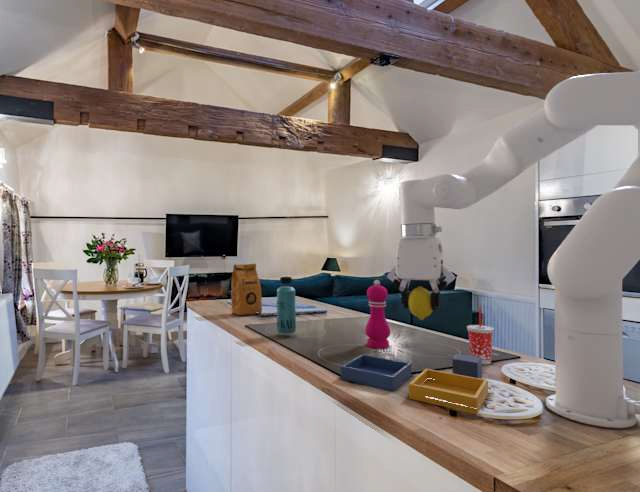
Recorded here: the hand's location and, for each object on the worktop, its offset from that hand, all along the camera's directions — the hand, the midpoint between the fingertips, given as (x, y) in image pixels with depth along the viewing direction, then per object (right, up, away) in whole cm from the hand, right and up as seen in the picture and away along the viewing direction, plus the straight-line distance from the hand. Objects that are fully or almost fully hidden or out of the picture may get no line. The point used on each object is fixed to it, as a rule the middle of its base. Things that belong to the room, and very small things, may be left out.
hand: (420, 307), depth 96 cm
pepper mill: (-1, -17, +27) cm, 31 cm away
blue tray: (-11, -16, 0) cm, 20 cm away
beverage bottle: (-27, -17, +41) cm, 52 cm away
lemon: (0, -3, 0) cm, 3 cm away
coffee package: (-40, -17, +80) cm, 91 cm away
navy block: (+9, -16, -3) cm, 19 cm away
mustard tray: (0, -16, -12) cm, 20 cm away
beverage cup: (+20, -16, +10) cm, 28 cm away
